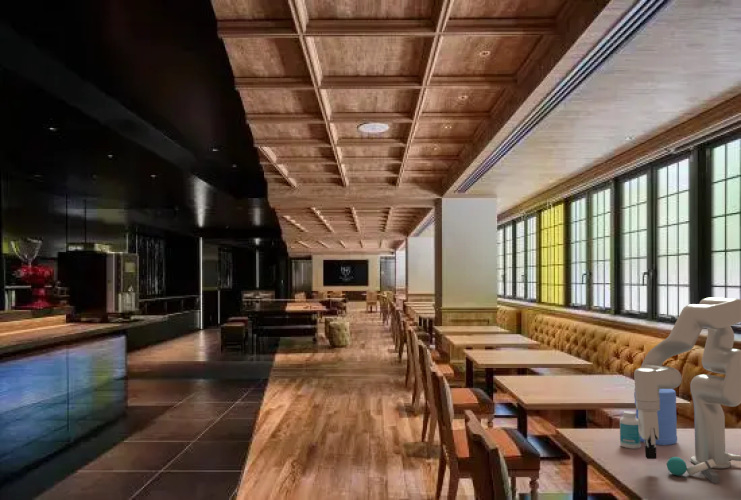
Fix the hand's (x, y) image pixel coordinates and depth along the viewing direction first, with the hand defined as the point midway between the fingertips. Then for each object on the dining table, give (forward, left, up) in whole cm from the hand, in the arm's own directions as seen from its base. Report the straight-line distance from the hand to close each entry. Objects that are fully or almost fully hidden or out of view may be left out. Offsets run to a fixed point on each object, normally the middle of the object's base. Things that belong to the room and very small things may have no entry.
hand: (651, 458), depth 203 cm
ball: (-8, +1, -2) cm, 8 cm away
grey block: (-18, +1, -5) cm, 19 cm away
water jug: (-11, -43, -5) cm, 45 cm away
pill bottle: (+1, -31, -5) cm, 32 cm away
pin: (-11, +1, -4) cm, 12 cm away
